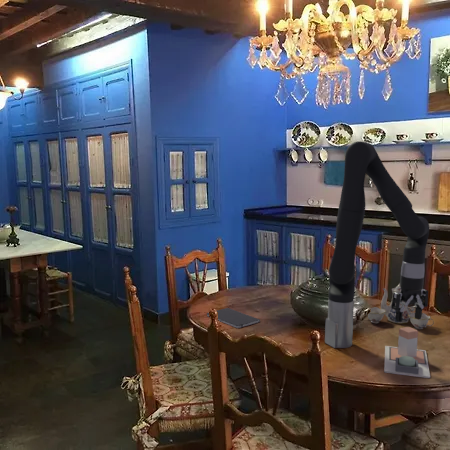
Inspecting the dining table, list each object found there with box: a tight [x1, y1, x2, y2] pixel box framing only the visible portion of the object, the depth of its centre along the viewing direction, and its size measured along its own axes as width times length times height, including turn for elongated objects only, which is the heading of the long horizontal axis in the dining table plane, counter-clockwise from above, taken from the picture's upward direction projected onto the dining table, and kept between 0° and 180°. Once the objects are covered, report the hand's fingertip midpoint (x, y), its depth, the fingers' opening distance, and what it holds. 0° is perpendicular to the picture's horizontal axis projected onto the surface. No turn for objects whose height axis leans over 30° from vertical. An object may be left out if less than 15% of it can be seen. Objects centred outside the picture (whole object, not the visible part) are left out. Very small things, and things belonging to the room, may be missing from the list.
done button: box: [399, 356, 415, 367], centre depth 168 cm, size 5×5×2 cm
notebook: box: [206, 307, 261, 329], centre depth 220 cm, size 13×2×21 cm
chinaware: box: [367, 283, 435, 330], centre depth 214 cm, size 28×17×17 cm, turn 71°
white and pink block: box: [397, 326, 419, 358], centre depth 179 cm, size 4×4×10 cm
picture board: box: [383, 345, 431, 379], centre depth 176 cm, size 22×14×3 cm, turn 162°
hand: (408, 320), depth 177 cm, fingers open, 8 cm apart
